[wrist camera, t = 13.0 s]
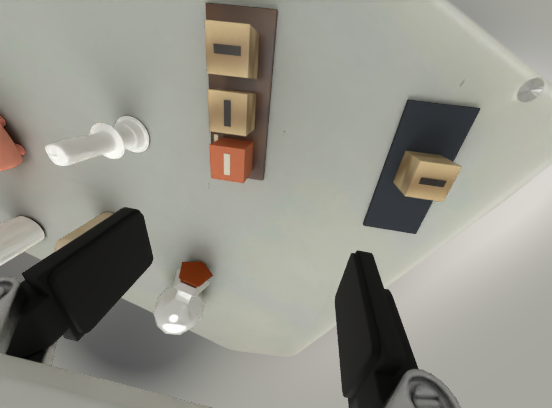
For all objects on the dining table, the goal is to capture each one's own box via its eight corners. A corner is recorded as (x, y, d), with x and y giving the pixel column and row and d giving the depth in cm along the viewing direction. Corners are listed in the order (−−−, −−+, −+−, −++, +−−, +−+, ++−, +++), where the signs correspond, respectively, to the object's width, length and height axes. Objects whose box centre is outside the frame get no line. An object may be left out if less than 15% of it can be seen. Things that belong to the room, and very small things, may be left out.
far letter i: (221, 88, 28) (207, 89, 24) (256, 92, 28) (247, 94, 24) (222, 125, 30) (209, 131, 26) (254, 129, 30) (245, 136, 26)
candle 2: (127, 217, 41) (78, 253, 33) (127, 239, 44) (82, 277, 35) (99, 207, 41) (42, 240, 32) (101, 229, 44) (49, 265, 35)
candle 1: (110, 134, 34) (20, 156, 23) (124, 107, 31) (31, 118, 21) (140, 159, 35) (68, 190, 25) (155, 134, 33) (82, 157, 22)
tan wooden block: (221, 29, 25) (204, 18, 21) (259, 33, 25) (249, 23, 21) (221, 75, 27) (206, 73, 23) (257, 79, 27) (247, 78, 23)
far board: (207, 3, 25) (205, 2, 24) (277, 10, 24) (277, 8, 23) (213, 171, 34) (211, 173, 34) (263, 179, 34) (262, 180, 33)
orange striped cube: (222, 137, 31) (209, 144, 27) (253, 141, 31) (244, 149, 27) (222, 167, 33) (210, 178, 29) (251, 171, 33) (243, 183, 29)
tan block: (405, 150, 28) (420, 160, 24) (441, 155, 28) (463, 166, 24) (392, 182, 31) (405, 196, 27) (426, 187, 30) (443, 202, 26)
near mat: (407, 99, 26) (409, 99, 26) (477, 108, 26) (480, 108, 25) (362, 223, 35) (363, 225, 34) (414, 232, 34) (415, 234, 34)
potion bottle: (183, 296, 52) (202, 249, 47) (204, 330, 48) (229, 283, 42) (141, 313, 45) (158, 260, 39) (161, 356, 40) (184, 303, 35)
